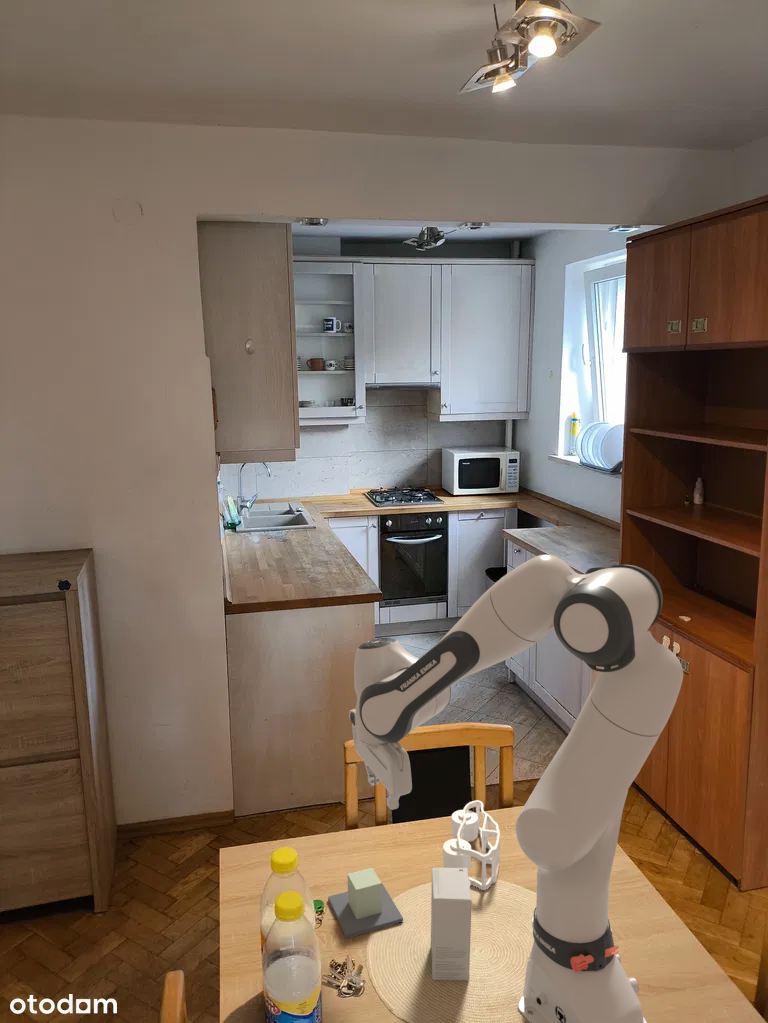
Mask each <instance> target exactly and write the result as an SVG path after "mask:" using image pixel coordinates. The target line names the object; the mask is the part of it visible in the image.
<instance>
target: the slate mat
mask: <svg viewBox="0 0 768 1023" xmlns="http://www.w3.org/2000/svg"><path fill="white" fill-rule="evenodd" d="M381 883H382V912H381V913H378V914H374V915H371V916H367V917H363V918H360V919H356V917H355V915H354V913H353V911H352V909H351V907H350V905H349V903H348V890H347V891H343V892H339V893H336V894H332V895H329V896H328V897H327V898H328V903H329V905H330V907H331V909H332V911H333V913H334V915H335V917H336V920H337V921H338V923H339V925H340V928H341V930H342V932H343V934H344V936H345V938H346V939H348V938H352V937H355V936H356V937H357V936H359V935H363V934H366V933H369V932H374V931H376V930H380V929H384V928H387V927H391V926H394V925H397V924H396V923H398V924H400V923H399V922H402V921H403V922H404V917H403V915H402V914H401V912H400V910H399V909H398V907H397V905H396V904H395V902H394V900H393V898H392V897H391V895H390V894H389V892H388V891H387V888H386V887H385V885H384V884H383V882H382V881H381ZM403 922H402V923H403Z"/></svg>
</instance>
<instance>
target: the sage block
mask: <svg viewBox="0 0 768 1023" xmlns="http://www.w3.org/2000/svg"><path fill="white" fill-rule="evenodd" d="M381 882H382V881H381V879H380V878H379V876H378V874H377V873H376V871H375V870H374V868H373V867H368V868H365V869H360V870H358V871H354V872H349V873H347V891H348V903H349V905H350V907H351V909H352V911H353V913H354V915H355V917H356V919H360V918H363V917H367V916H371V915H374V914H378V913H381V912H382V884H383V882H382V883H381Z"/></svg>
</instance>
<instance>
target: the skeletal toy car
mask: <svg viewBox="0 0 768 1023" xmlns="http://www.w3.org/2000/svg"><path fill="white" fill-rule="evenodd" d="M472 808H475V812H474V811H472V810H471V809H472ZM480 815H481V816H480ZM481 817H482V818H483V825H482V827H481V822H480V821H481ZM489 825H491V826H492V828H493V829H489ZM478 835H480V843H481V852H480V851H477V850H474V849H472V845H471V843H469V842H473V841H475V840H476V839H477V838H478V837H479V836H478ZM451 836H452V838H451V839H448V840H446V841H445V842H444V843H443V845H442V852H443V853H442V855H443V857H442V858H443V860H442V865H443V868H467V870H468V872H469V871H470V870H471V868H472V858H475V859H477V860H479V861H480V862H481V882H480V881H479V880H478V879H474V878H471V877H469V881H470V883H471V885H470V886H472V885H473V886H472V887H475V886H476V887H475V888H477V887H478V888H479V889H478V888H477V889H478V890H480V889H481V890H480V891H482V890H484V891H487V890H489V889H488V888H489V887H490V888H491V885H492V884H495V883H496V882H497V879H498V877H499V876H498V874H499V869H500V864H501V860H500V859H501V830H500V828H499V824H498V823H497V822H496V821H495V820H494V819H493V817H492V816H491V815H490V814H488V813H487V812H486V811H485V810H484V803H483V801H481V800H478V799H477V800H476V799H475V800H473V801H469V802H468V803H466V804H465V806H464V807H463V809H458V810H456V811H454V812H453V813H452V814H451ZM489 837H493V838H495V845H492V843H491V842H490V841H489ZM487 849H488V852H487ZM486 852H487V853H486ZM487 864H488V865H491V876H490V877H489V878H488V879H487ZM486 889H487V890H486Z"/></svg>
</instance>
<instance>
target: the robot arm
mask: <svg viewBox="0 0 768 1023" xmlns="http://www.w3.org/2000/svg"><path fill="white" fill-rule="evenodd" d="M663 598H664V596H663V591H662V588H661V586H660V583H659V582H658V580H657V578H656V577H655V576H654V575H653V574H652V573H650V572H649V571H648V570H646V569H644V568H642V567H639V566H637V565H633V564H632V565H631V564H615V565H614V564H613V565H608V566H598V567H590V568H589V569H587V570H586V571H585V573H584V574H580V573H577V572H576V571H575V570H574V569H573V568H572V567H571V565H570V564H568V563H567V562H566V561H564V559H561V558H560V557H559V556H558V557H557V556H555V555H553V554H539V555H536V556H534V557H532V558H530V559H529V560H526V561H525V562H523V563H521V564H520V565H518V566H516V567H515V568H514V569H512V570H511V571H509V572H507V573H506V574H504V575H503V576H502V577H500V578H499V580H497V581H496V582H495V583H494V584H493V585H492V586H490V587H489V588H488V589H487V590H486V591H485V592H483V594H482V595H481V596H479V598H478V599H477V600H476V601H475V602H474V603H473V605H471V606H470V607H469V608H468V610H466V612H465V613H464V614H463V616H461V618H460V619H459V620H458V621H457V622H456V623H455V624H454V625H453V626H452V627H451V628H450V630H448V632H447V633H446V634H445V635H444V636H443V637H442V638H441V639H440V640H439V641H438V642H437V643H436V645H434V646H433V647H432V648H430V650H428V651H427V652H426V653H425V654H423V655H422V656H421V657H420V658H418V657H417V656H414V655H413V654H412V653H410V652H408V651H407V650H406V649H405V648H404V647H403V646H402V645H401V642H399V641H398V639H395V638H393V637H379V638H375V639H370V640H368V641H365V642H363V643H362V644H360V645H359V647H357V648H356V652H355V655H354V662H353V663H354V664H353V686H354V692H355V694H356V705H355V708H352V709H350V710H349V711H348V717H349V720H350V722H351V728H352V729H351V730H352V739H353V745H354V749H355V752H356V753H357V754H358V756H359V757H360V758H361V760H362V761H363V762H364V766H365V770H366V774H367V782H368V783H369V785H370V786H371V787H374V786H377V785H379V784H380V783H381V784H382V785H383V787H384V788H385V789H386V790H387V794H388V796H387V797H386V798H385V799H386V801H385V802H386V806H387V807H388V809H389V810H390V811H393V810H397V809H398V808H399V806H400V803H399V800H400V797H402V796H405V795H407V794H410V793H411V792H412V790H413V783H412V781H413V780H412V771H411V762H410V758H409V757H410V756H409V754H408V752H407V750H406V749H405V748H404V747H403V746H402V744H401V743H400V741H401V740H403V738H405V737H406V736H407V735H409V734H410V733H411V732H412V731H414V730H416V729H417V728H418V727H421V725H423V724H425V723H426V722H428V721H429V720H431V719H433V717H435V716H437V715H438V714H440V713H441V712H442V711H443V710H445V709H446V708H447V707H448V705H449V703H450V700H451V697H452V690H451V689H452V688H451V686H453V685H454V684H455V683H457V682H459V681H462V680H464V678H465V679H466V678H467V677H469V676H472V675H473V674H476V673H478V672H480V671H483V670H485V669H488V668H491V667H493V666H495V665H497V664H499V663H502V662H504V661H506V660H509V659H510V658H512V657H514V656H517V655H518V654H520V653H522V652H524V651H525V650H528V649H530V648H531V647H532V646H534V645H535V644H537V643H538V642H539V641H540V640H542V639H543V638H544V637H545V636H547V634H549V633H550V632H552V631H553V630H554V632H555V634H556V636H557V639H558V640H559V642H560V643H561V644H562V646H563V647H564V648H565V649H566V650H567V651H568V652H569V653H571V654H572V655H573V656H574V657H576V658H578V659H579V660H581V661H583V662H584V663H585V664H586V665H587V666H588V667H589V669H591V670H592V671H596V672H599V675H598V677H597V679H596V681H595V683H594V684H593V686H592V688H591V690H590V692H589V695H588V697H587V698H586V700H585V702H584V704H583V706H582V707H581V710H580V712H579V714H578V716H577V718H576V720H575V722H574V724H573V725H572V727H571V729H570V732H569V733H568V735H567V737H566V738H565V739H564V740H563V742H562V743H561V745H560V746H559V748H558V750H557V752H556V753H555V754H554V756H553V757H552V759H551V761H550V762H549V764H548V766H547V767H546V768H545V770H544V772H543V774H542V775H541V777H540V778H539V780H538V782H537V783H536V785H535V787H534V788H533V790H532V792H531V794H530V795H529V797H528V799H527V800H526V802H525V804H524V806H523V808H522V809H521V811H520V813H519V815H518V817H517V819H516V822H515V836H516V839H517V840H516V841H517V843H518V844H519V847H520V849H521V850H522V852H523V853H524V855H525V856H526V857H527V858H528V859H529V860H530V861H531V862H532V863H534V865H537V870H536V900H535V901H536V905H535V908H534V910H533V917H532V922H531V923H532V936H533V939H534V940H533V944H532V947H531V950H530V954H529V956H528V958H527V963H526V971H525V979H524V987H523V994H522V995H521V998H520V999H519V1001H518V1004H517V1010H518V1009H519V1010H518V1011H519V1013H520V1012H521V1013H522V1014H523V1015H522V1014H521V1013H520V1014H521V1015H522V1016H524V1018H525V1019H526V1020H528V1022H529V1023H531V1022H532V1023H648V1022H647V1020H646V1018H645V1017H644V1012H643V1007H642V1004H641V1002H640V1000H639V997H638V994H640V987H639V983H638V981H637V979H636V978H635V977H633V976H632V977H628V975H627V974H626V972H625V969H624V968H623V965H622V959H621V957H620V955H619V954H618V953H619V951H618V949H619V948H620V947H619V945H615V943H614V938H613V929H612V927H611V924H610V919H609V902H610V901H609V897H610V896H609V894H610V881H611V875H612V874H611V873H612V869H613V863H614V859H615V854H616V850H617V845H618V841H619V835H620V829H621V828H620V827H621V824H622V822H621V821H622V816H623V811H624V808H625V804H626V800H627V796H628V793H629V788H630V787H631V785H632V784H633V782H634V781H635V780H636V778H637V776H638V775H639V774H640V772H641V769H642V767H644V764H645V763H646V761H647V759H648V757H649V756H650V754H651V752H652V750H653V748H654V746H655V745H656V743H657V741H658V739H659V737H660V735H661V734H662V732H663V730H664V729H665V727H666V725H667V723H668V721H669V719H670V717H671V715H672V713H673V710H674V707H675V705H676V703H677V699H678V697H679V695H680V690H681V687H682V684H683V679H684V669H683V666H682V663H681V661H680V660H679V658H678V656H677V655H676V654H675V653H674V652H673V651H671V649H669V648H668V647H667V646H665V645H664V644H661V643H660V642H657V640H656V639H655V637H653V635H652V632H651V631H650V630H649V629H650V628H651V627H653V626H654V624H655V623H656V622H657V621H658V619H659V618H660V615H661V612H662V609H663V604H664V603H663V601H664V600H663ZM598 667H599V668H598ZM529 1012H532V1013H531V1014H530V1013H529Z"/></svg>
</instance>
